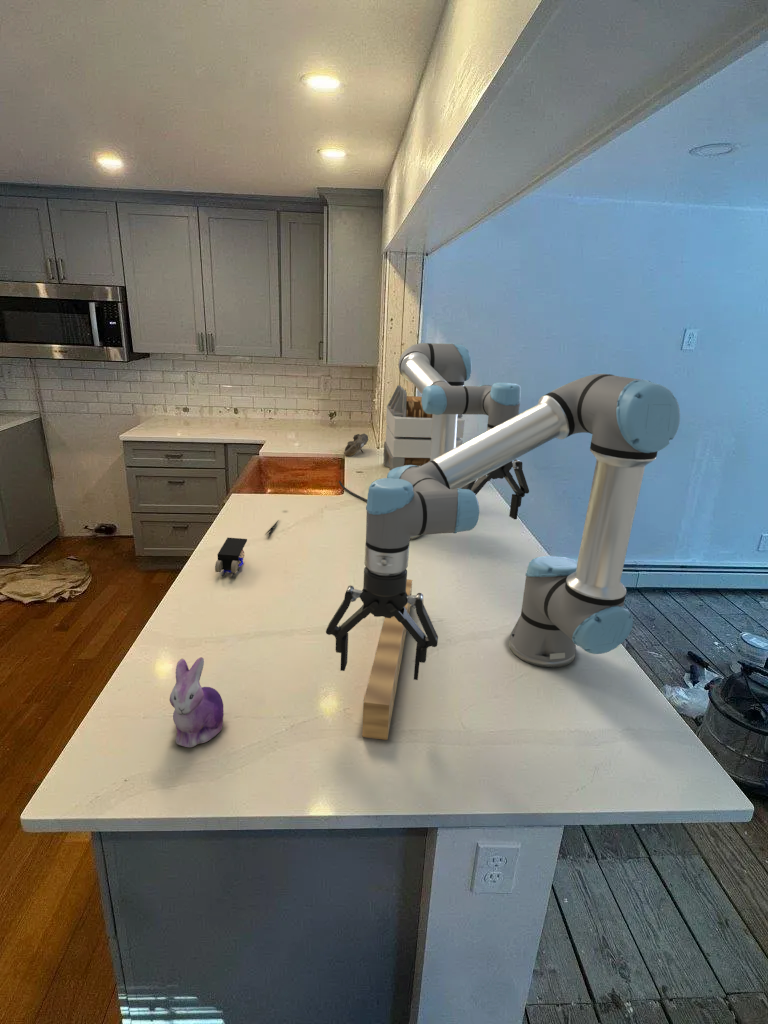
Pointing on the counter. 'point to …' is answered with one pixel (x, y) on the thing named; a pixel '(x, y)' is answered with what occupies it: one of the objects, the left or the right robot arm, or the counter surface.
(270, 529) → the feather
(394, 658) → the post
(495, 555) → the counter surface
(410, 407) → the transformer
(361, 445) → the fossil
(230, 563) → the black boxy wheeled piece
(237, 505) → the counter surface
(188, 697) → the figurine
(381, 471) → the counter surface
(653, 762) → the counter surface
